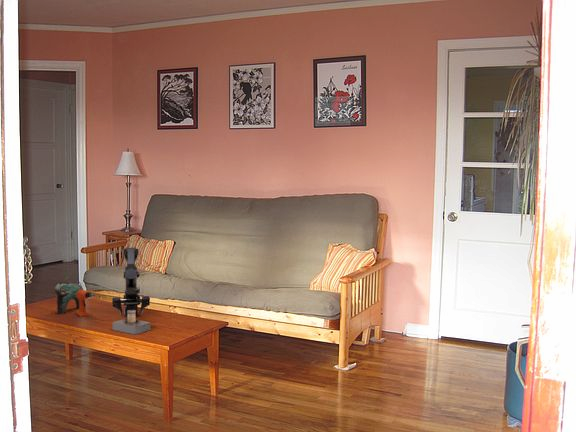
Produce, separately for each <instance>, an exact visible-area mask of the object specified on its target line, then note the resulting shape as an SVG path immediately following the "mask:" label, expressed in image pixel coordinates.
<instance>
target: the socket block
mask: <svg viewBox="0 0 576 432" xmlns="http://www.w3.org/2000/svg"><path fill="white" fill-rule="evenodd" d="M112 331H115V332H116V331H117V332H121V333H126V334H131V335H140V334H143V333H146V332H148V331H151V322H150V321H145V320H141V319H136V323H134V324H128V317H126V318H122V319H120V320H119V319H118V320H116V321H112Z"/></svg>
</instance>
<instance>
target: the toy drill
mask: <svg viewBox="0 0 576 432" xmlns="http://www.w3.org/2000/svg"><path fill="white" fill-rule="evenodd" d="M76 296H77V299H78V300H79V309H78V310H77V314H76V315H77V316H78V317H83V318H85V317H88V316H90V315H89V312H88V311H86V310H87V309H86V308H87V307H86V306H87V304H86V299H88V298H91V297H95V296H96V293H95V294H94V293H91V292H90V291H87V290H84V289H83V290H82V289H80V290H79V291H78V292H77V294H76Z"/></svg>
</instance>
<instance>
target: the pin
mask: <svg viewBox="0 0 576 432" xmlns="http://www.w3.org/2000/svg"><path fill="white" fill-rule="evenodd" d="M127 313H128V317H127V318H128V324H134V323H136V320H137V319H136V317H137V316H136V310H128V311H127Z"/></svg>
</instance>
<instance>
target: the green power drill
mask: <svg viewBox="0 0 576 432" xmlns="http://www.w3.org/2000/svg"><path fill="white" fill-rule="evenodd" d="M67 279H69V280H71V277H70V276H66V277H65V279H64V283H62V282H60V283H57V285H55V288H54V291H55V294H56V296H57V298H56V299H57V300H56V306H57V311H56V312H57V314H58V315H64V314H66V312H67V307H68V304H69V302H70V301H72V300H74V301H75V306H76V307H75V308H76V309H78V310H79V300H78V299H77V296H76V294H77V292H78V291H79V290H80V289H82V290H84V288H83V286H82V284H81V282H80V281H72V282H71V283H69V282H66V280H67Z"/></svg>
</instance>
